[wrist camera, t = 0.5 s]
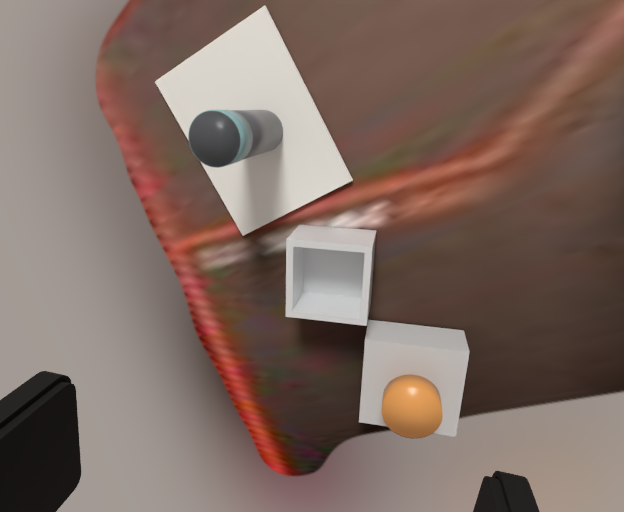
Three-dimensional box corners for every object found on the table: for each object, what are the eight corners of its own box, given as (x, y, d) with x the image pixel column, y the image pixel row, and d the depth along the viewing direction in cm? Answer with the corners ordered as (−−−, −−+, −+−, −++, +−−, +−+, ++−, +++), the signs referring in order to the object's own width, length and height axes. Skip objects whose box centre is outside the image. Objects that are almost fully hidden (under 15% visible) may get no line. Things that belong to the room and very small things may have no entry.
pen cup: (299, 224, 42) (286, 239, 37) (376, 230, 41) (372, 246, 36) (298, 294, 44) (285, 316, 40) (370, 302, 43) (366, 325, 38)
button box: (368, 319, 44) (365, 339, 40) (463, 330, 42) (469, 352, 38) (362, 396, 46) (358, 422, 43) (451, 409, 45) (455, 436, 41)
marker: (243, 108, 39) (186, 108, 29) (283, 109, 39) (240, 110, 28) (244, 151, 40) (190, 166, 30) (283, 153, 40) (241, 169, 30)
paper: (155, 81, 40) (154, 81, 40) (265, 5, 36) (264, 5, 36) (243, 235, 43) (242, 235, 43) (352, 180, 40) (352, 180, 39)
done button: (385, 371, 39) (384, 384, 37) (444, 378, 38) (446, 392, 36) (380, 418, 40) (379, 433, 38) (437, 426, 39) (438, 442, 38)
